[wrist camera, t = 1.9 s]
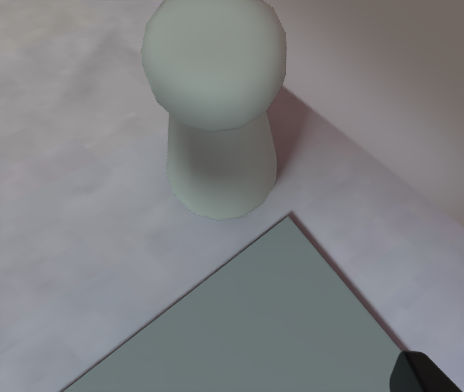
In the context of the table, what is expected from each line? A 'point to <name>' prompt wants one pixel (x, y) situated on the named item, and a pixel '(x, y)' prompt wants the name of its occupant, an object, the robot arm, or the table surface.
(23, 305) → the table surface
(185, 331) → the slate mat
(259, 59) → the salt shaker
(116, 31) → the table surface
